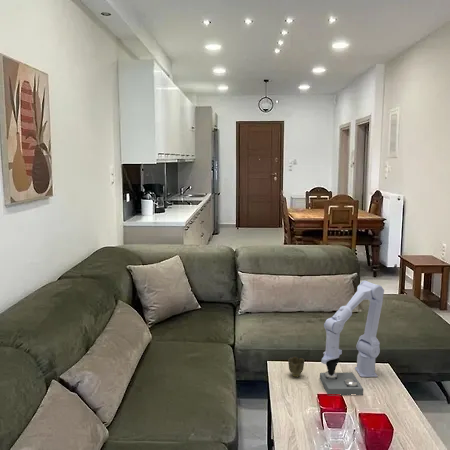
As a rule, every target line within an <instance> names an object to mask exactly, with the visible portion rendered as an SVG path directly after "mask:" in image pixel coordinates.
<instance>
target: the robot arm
mask: <svg viewBox="0 0 450 450" xmlns="http://www.w3.org/2000/svg"><path fill="white" fill-rule="evenodd" d="M384 294H385V289H384V288H383V286H382V285H380V284H376V283H373V282H370V281H368V280H365V279H364V280H362V281H361V282H360V283H359V284H358V285H357V289H356V292H355V293H354V295H352V297H351V298H350V300H349V301H348V302H347V303H346V305H341V306H340V307H339V309H337V310H336V312H335V313H334V314H333V315H332V316H331V317H329V318H327V319H326V320H325V322H324V323H323V328H324V329H325V333H326V335H325V339H326V340H325V351H324V352H322V354H323V357H322V358H321V361H320V362H321V364H324V365H326V369H327V371H328V374H331V375H333V374H334V372H335V371H336V367H337V365H339V362H340V360H341V359H340V355H342V353H343V350H342V349H341V348H340V334H341V332H342V331H343V329H344V326H345V323H346V322H347V321H348V320H349V319H350V317H352V315H353V311H354V309H356V308H357V306H359V305H360V304H361V303H362V302H363V301H364V300H368V301H369V304H368V305H369V306H368V310H367V317H366V322H365V326H364V332H363V333H364V334H361V335H360V336H358V341H357V343H356V346H355V347H356V350H357V351H358V353H357V356H356V366H355V367H354V369H355V371H356V372H357V374H358V375H359V376H360V378H378V374H377V373H376V372H375V371H376V359H377V357H378V356H379V354H380V352H381V349H380V344H381V343H380V340H379V339H378V338H377V333H378V330H379V329H378V328H379V325H380V324H379V323H380V317H381V312H382V308H383V301H384Z"/></svg>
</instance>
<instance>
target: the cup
mask: <svg viewBox="0 0 450 450" xmlns="http://www.w3.org/2000/svg"><path fill="white" fill-rule="evenodd" d="M287 361H288V370H289V372H290V373H291V376H292V377H294V378H300V375H301V373H303V371H304V366H305V359H304V358H302V357H300V358H298V356H291V357H289V358H288V359H287Z"/></svg>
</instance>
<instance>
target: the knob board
mask: <svg viewBox="0 0 450 450" xmlns="http://www.w3.org/2000/svg"><path fill="white" fill-rule="evenodd" d="M336 373H337V378H335V379H327V378H326V377H325V372H319V380H320V382H321V384H322V386H323V388H324V390H325V392H326V394H327V395H328V394H341V395H340V396H352V395H351V394H356V395H355V396H363V395H364V388H363V386H362V385H361V383H360V382H359V380H358V379H357V377H356V375H355V374H354V373H353V372H351V371H350V372H348V371H347V372H336ZM346 379H354V380H356V381H357V386H356V387H347V386H346V385H345V380H346Z"/></svg>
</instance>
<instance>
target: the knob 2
mask: <svg viewBox="0 0 450 450" xmlns="http://www.w3.org/2000/svg"><path fill="white" fill-rule="evenodd" d="M345 385H346V386H347V387H356V386H357V381H356V380H354V379H346V380H345Z"/></svg>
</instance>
